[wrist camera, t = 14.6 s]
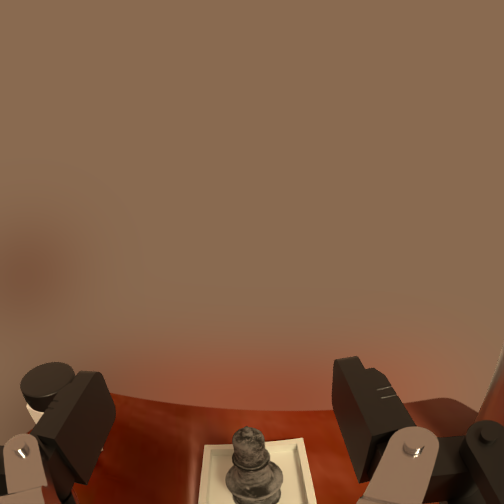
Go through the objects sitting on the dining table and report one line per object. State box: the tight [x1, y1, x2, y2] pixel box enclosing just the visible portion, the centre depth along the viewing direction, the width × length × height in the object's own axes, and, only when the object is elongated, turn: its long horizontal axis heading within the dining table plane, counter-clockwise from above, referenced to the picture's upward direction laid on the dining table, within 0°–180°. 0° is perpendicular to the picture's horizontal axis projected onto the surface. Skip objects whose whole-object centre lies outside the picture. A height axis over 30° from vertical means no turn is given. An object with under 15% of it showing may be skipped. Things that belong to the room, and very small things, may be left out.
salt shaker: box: [225, 426, 283, 504], centre depth 25 cm, size 6×6×12 cm
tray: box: [198, 438, 317, 504], centre depth 27 cm, size 12×14×2 cm
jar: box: [20, 362, 103, 451], centre depth 32 cm, size 9×8×12 cm
